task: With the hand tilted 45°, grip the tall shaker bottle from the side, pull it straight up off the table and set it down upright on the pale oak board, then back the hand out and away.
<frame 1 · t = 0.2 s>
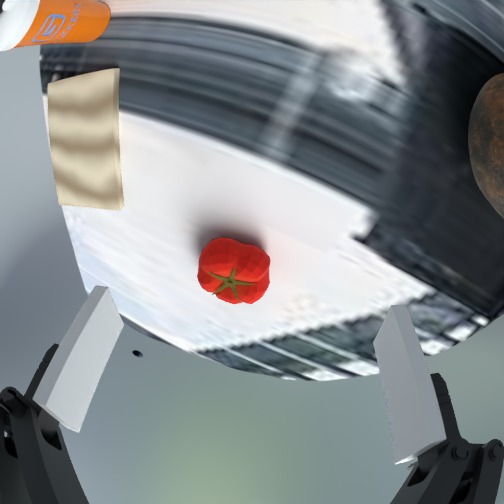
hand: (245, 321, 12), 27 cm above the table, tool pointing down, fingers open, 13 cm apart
jug: (496, 134, 27), on the table
oak board: (84, 141, 36), on the table
shaker bottle: (93, 22, 25), on the table
tomato: (237, 259, 45), on the table
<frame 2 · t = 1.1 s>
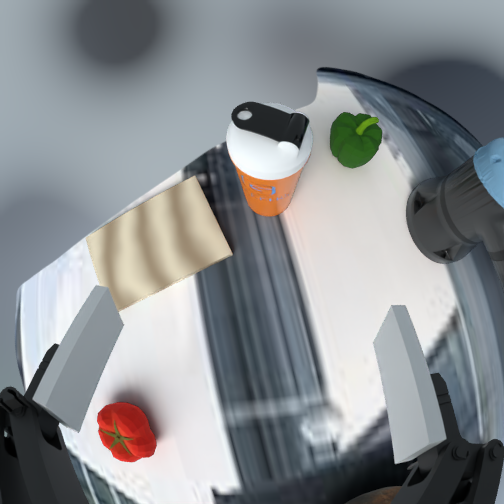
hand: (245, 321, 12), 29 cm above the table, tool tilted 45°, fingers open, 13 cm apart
oak board: (153, 246, 43), on the table
bell pepper: (347, 154, 45), on the table
shaker bottle: (268, 195, 44), on the table
tomato: (133, 425, 39), on the table
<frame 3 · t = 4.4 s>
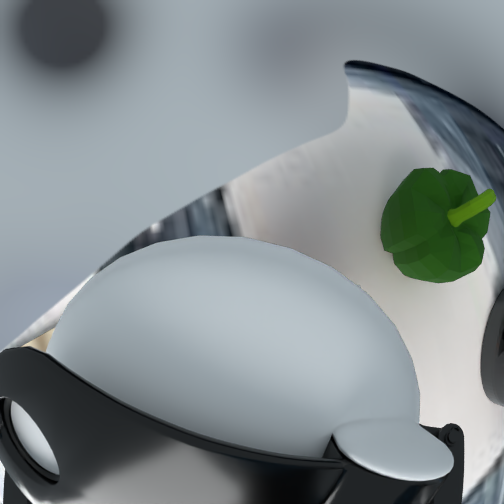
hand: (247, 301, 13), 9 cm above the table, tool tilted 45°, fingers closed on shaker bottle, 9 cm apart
bell pepper: (407, 241, 23), on the table
shaker bottle: (251, 341, 22), on the table, touching gripper
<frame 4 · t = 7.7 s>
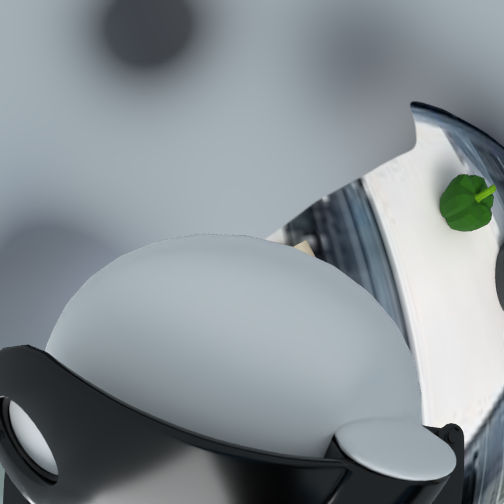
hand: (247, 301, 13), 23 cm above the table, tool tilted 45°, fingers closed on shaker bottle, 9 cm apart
bell pepper: (451, 213, 37), on the table
shaker bottle: (251, 341, 22), point 14 cm above the table, touching gripper
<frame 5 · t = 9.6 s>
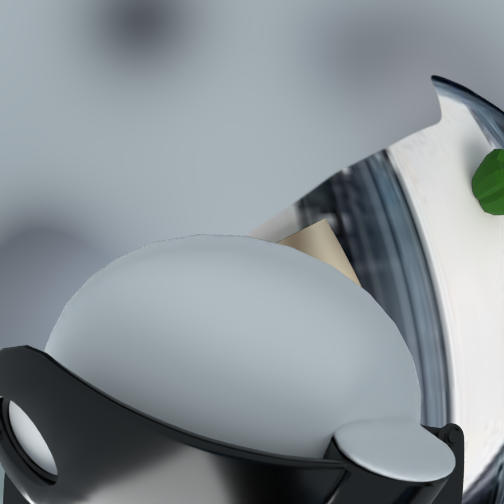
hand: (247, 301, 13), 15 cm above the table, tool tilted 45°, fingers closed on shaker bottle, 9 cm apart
oak board: (258, 331, 27), on the table
bell pepper: (483, 195, 29), on the table
shaker bottle: (251, 341, 22), point 6 cm above the table, touching gripper
when the fingers open (11 cm above the table, at t = 11.0 s): shaker bottle stays where it is, resting on oak board.
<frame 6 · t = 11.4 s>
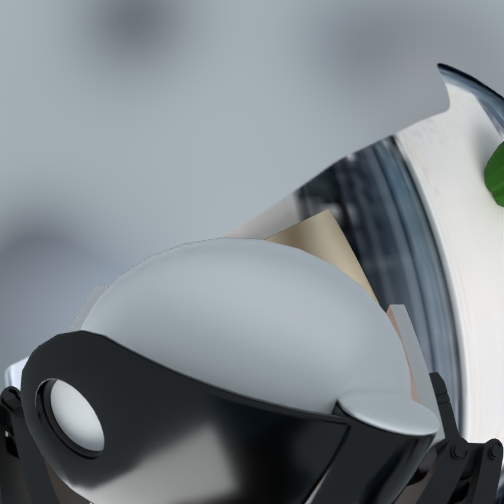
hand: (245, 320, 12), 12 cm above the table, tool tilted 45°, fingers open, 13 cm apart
oak board: (252, 337, 24), on the table
bell pepper: (496, 187, 26), on the table
shaker bottle: (253, 339, 23), point 1 cm above the table, touching oak board
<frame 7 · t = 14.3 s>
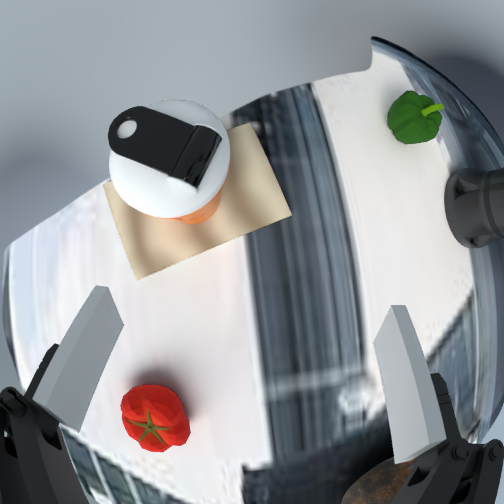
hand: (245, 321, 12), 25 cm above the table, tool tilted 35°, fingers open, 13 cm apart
jug: (377, 472, 41), on the table
oak board: (193, 199, 37), on the table
bell pepper: (399, 129, 40), on the table
shaker bottle: (193, 197, 35), point 1 cm above the table, touching oak board
tomato: (158, 407, 37), on the table
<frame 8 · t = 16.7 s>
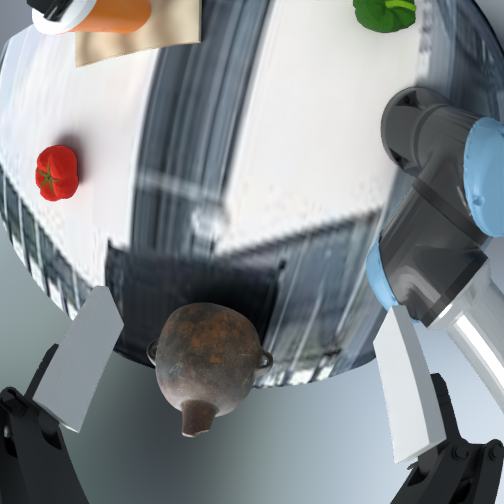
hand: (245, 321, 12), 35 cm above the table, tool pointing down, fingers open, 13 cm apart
jug: (216, 317, 64), on the table
oak board: (134, 15, 29), on the table
bell pepper: (371, 14, 27), on the table
shaker bottle: (131, 14, 28), point 1 cm above the table, touching oak board
tomato: (66, 167, 45), on the table
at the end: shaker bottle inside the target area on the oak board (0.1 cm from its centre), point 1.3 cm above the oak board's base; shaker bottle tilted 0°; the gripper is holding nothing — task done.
